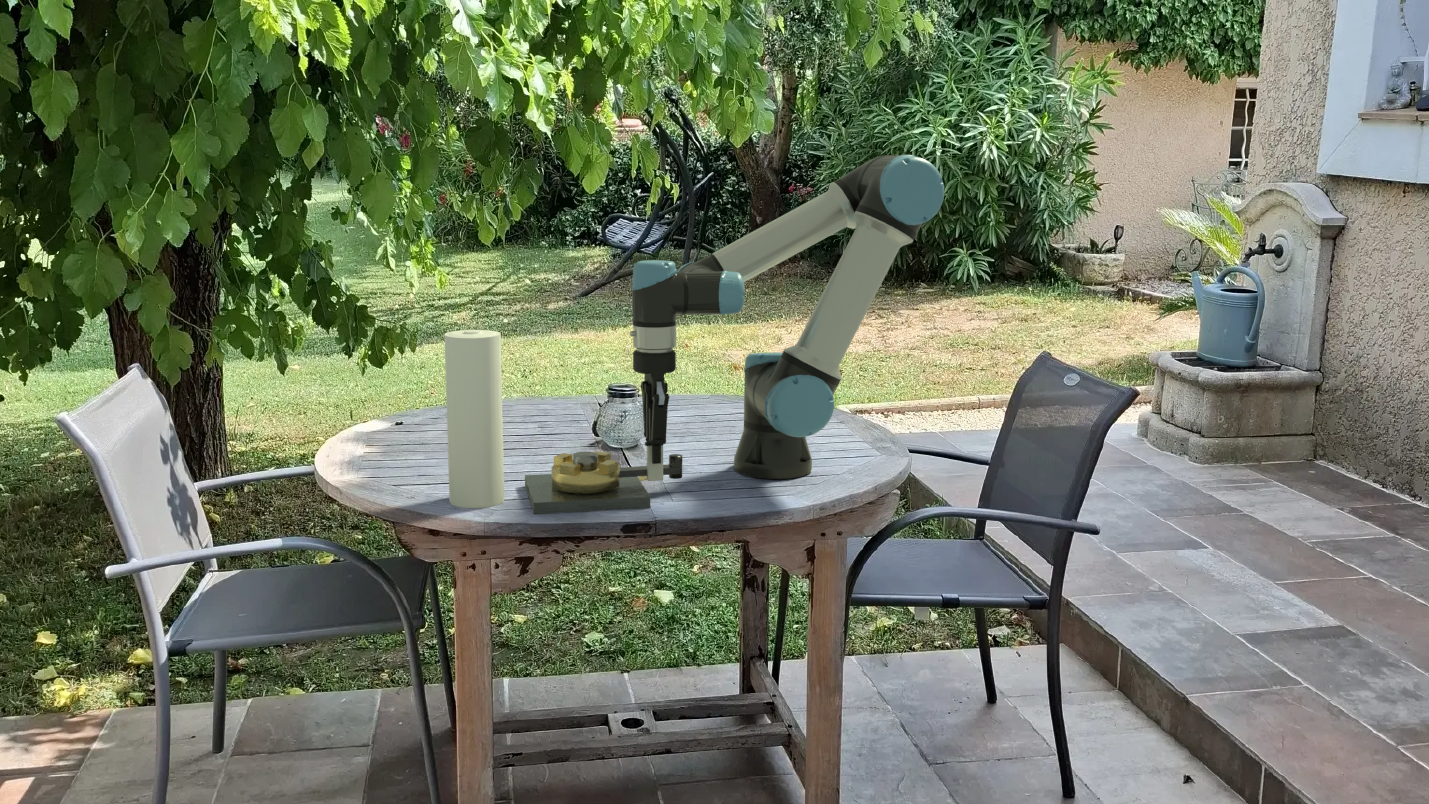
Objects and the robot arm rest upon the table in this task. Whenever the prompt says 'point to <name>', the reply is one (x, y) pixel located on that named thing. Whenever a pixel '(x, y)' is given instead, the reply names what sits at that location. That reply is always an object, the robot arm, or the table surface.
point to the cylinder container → (474, 418)
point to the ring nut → (600, 471)
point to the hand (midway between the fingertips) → (655, 479)
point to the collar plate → (585, 496)
